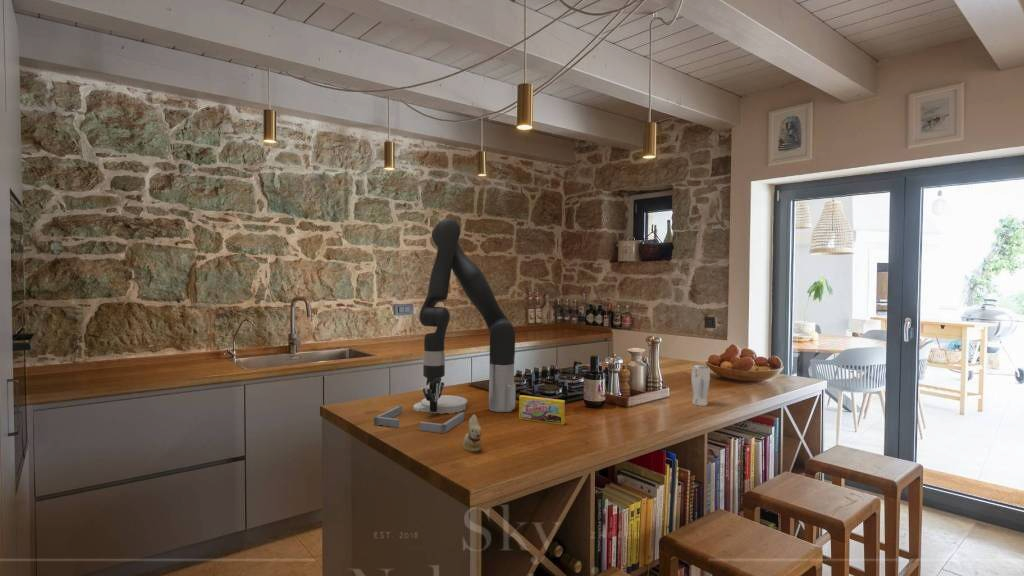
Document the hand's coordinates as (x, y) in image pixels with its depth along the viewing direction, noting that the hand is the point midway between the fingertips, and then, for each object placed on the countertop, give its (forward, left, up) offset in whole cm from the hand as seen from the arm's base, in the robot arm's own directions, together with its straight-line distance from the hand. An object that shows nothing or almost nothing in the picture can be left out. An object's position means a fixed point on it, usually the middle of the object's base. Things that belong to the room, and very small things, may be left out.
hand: (433, 411), depth 189 cm
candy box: (-38, -6, -2) cm, 38 cm away
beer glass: (-91, -52, -1) cm, 105 cm away
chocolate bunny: (-26, +28, -2) cm, 38 cm away
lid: (+2, -10, -2) cm, 10 cm away
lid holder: (0, +10, -1) cm, 10 cm away
